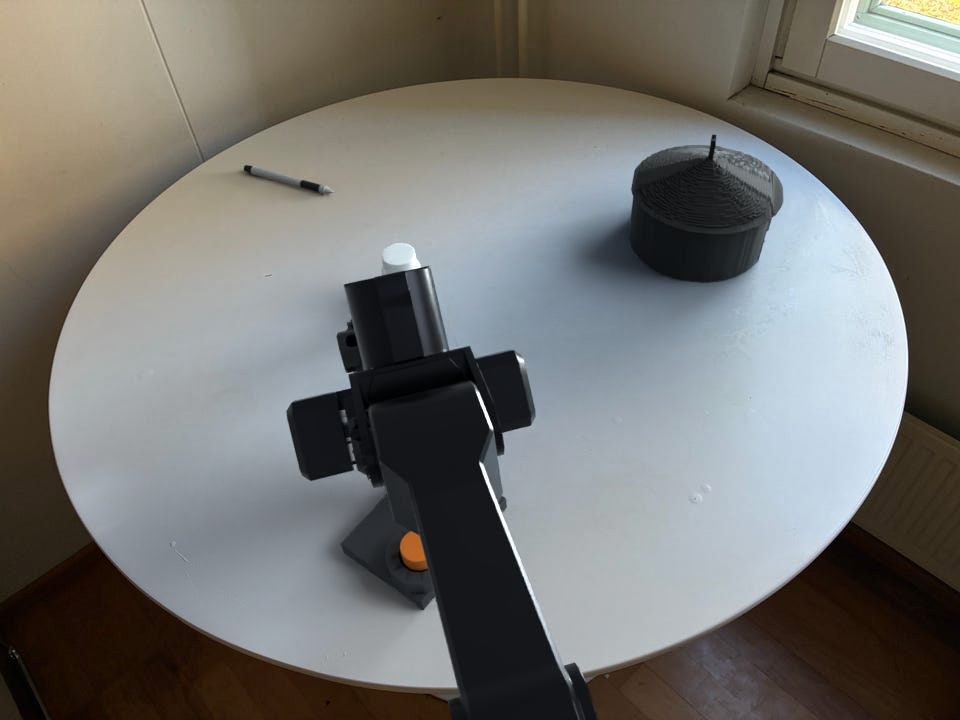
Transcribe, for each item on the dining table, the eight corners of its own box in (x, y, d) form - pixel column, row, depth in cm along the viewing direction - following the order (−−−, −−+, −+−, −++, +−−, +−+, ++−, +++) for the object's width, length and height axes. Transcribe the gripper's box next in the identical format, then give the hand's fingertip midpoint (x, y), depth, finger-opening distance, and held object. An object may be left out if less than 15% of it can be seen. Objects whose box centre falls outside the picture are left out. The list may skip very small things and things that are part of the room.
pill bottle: (395, 289, 98) (386, 237, 91) (430, 295, 97) (423, 243, 90) (382, 315, 95) (372, 263, 88) (418, 321, 94) (410, 269, 87)
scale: (428, 614, 69) (423, 597, 66) (343, 552, 73) (336, 534, 71) (511, 510, 75) (510, 490, 73) (428, 459, 80) (425, 439, 77)
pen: (249, 169, 118) (246, 162, 117) (338, 194, 112) (336, 186, 111) (243, 174, 117) (241, 166, 116) (333, 198, 112) (331, 191, 111)
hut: (768, 294, 94) (800, 192, 82) (619, 276, 97) (630, 177, 86) (767, 203, 105) (794, 104, 94) (633, 191, 109) (645, 93, 98)
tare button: (422, 577, 68) (420, 568, 66) (394, 558, 69) (392, 549, 68) (444, 550, 69) (442, 541, 68) (417, 532, 71) (415, 522, 69)
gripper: (523, 280, 54) (488, 293, 69) (256, 339, 51) (281, 340, 67) (557, 433, 54) (515, 413, 70) (295, 500, 52) (311, 464, 67)
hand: (407, 404), depth 68 cm, fingers closed on jar, 7 cm apart
